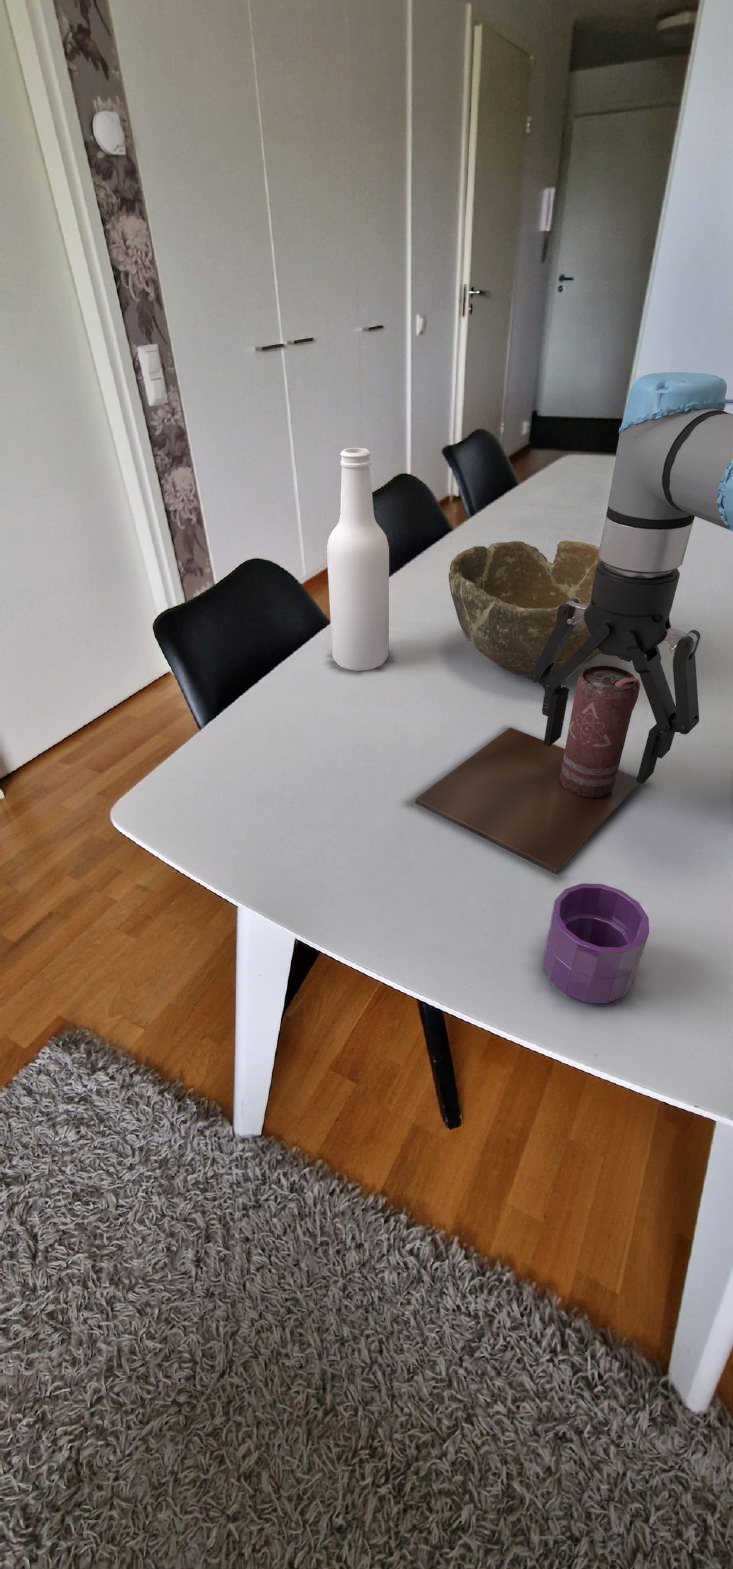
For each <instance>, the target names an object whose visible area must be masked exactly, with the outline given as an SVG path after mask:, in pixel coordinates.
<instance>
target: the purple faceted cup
mask: <svg viewBox="0 0 733 1569" xmlns="http://www.w3.org/2000/svg"><path fill="white" fill-rule="evenodd" d="M649 918H650V917H649V916H648V914H647V913H646V911H645V910H644V909H643V906H642V905H641V903H640V902H639V901H637V900H636V899H634V898H633V897H632V896H630V895H629V894H628V893H626V892H625V891H623V890H622V889H618V888H615V887H613V886H609V885H606V884H603V883H579V884H576V885H573V886H570V887H567V888H565V889H563V890H562V892H561V893H560V894H559V895H558V896H557V897H556V898H555V900H554V901H553V907H552V911H551V916H550V922H549V927H548V931H547V935H546V936H547V937H546V941H545V947H544V952H543V959H542V960H543V962H542V966H543V968H544V970H545V972H546V974H547V976H548V979H549V981H550V982H551V983H552V984H553V985H554V986H555V987H557V989H559V991H561V992H563V994H565V995H566V996H568V997H572V998H573V999H576V1000H578V1001H581V1002H584V1003H587V1004H607V1003H610V1002H613V1001H615V1000H618V999H620V998H622V997H624V996H625V995H626V994H627V992H628V991H629V989H630V988H631V986H632V985H633V983H634V980H635V978H636V974H637V971H638V968H639V964H640V962H641V959H642V956H643V953H644V950H645V947H646V944H647V942H648V938H649V934H650V919H649Z"/></svg>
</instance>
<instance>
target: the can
mask: <svg viewBox="0 0 733 1569" xmlns="http://www.w3.org/2000/svg"><path fill="white" fill-rule="evenodd" d="M640 688H641V682H640V680H639V679H638V678H636V677H635V676H634V674H633V673H631V672H630V671H628V670H626V669H624V668H621V667H617V666H613V665H593V666H590V667H586V668H585V669H584V670H583V671H582V672H581V675H580V676H579V677H578V678H577V682H576V687H575V693H574V698H573V703H572V709H571V714H570V720H569V725H568V730H567V736H566V742H565V746H564V749H565V752H564V757H563V763H562V768H561V774H560V780H561V782H562V784H563V786H564V787H565V788H566V789H567V791H569V792H571V793H572V794H574V795H577V796H580V797H584V798H598V797H602V796H604V795H606V794H608V793H609V792H610V791H611V790H612V789H613V787H614V785H615V781H616V776H617V772H618V770H619V767H620V763H621V760H622V755H623V752H624V748H625V744H626V739H627V736H628V735H627V734H628V730H629V728H630V723H631V718H632V714H633V711H634V709H635V706H636V703H637V701H638V698H639V694H640Z"/></svg>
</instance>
